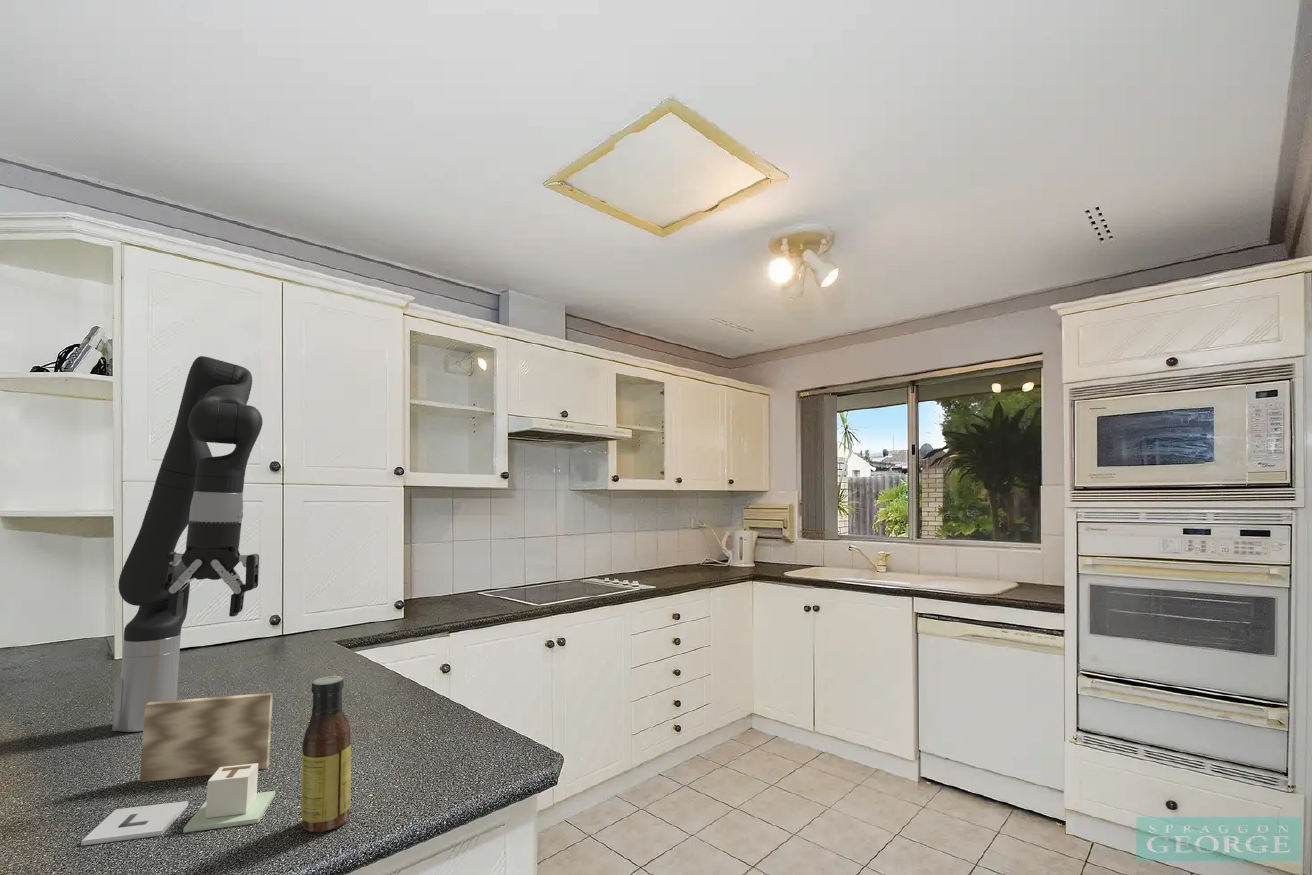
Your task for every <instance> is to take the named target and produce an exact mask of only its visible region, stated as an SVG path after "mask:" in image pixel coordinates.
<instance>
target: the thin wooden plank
mask: <svg viewBox="0 0 1312 875" xmlns="http://www.w3.org/2000/svg"><path fill="white" fill-rule="evenodd" d="M273 696H274V693H273V692H267V693H266V692H264V693H263V692H262V693H253V694H252V693H251V694H239V695H237V694H236V695H227V696H226V695H225V696H214V697H201V698H200V697H199V698H187V699H177V700H172V701H159V702H149V703H147V704H146V705H145V714H144V729H143V731H142V745H141V757H140V758H141V763H140V772H139V773H140V774H139V776H140V777H139V783H146V782H152V781H153V782H154V781H155V782H156V781H163V780H172V779H173V780H174V779H182V778H191V777H193V778H194V777H201V776H202V777H203V776H213V775H214V774H215V772H216V771H217V770H218V769H219V768H220V767H225V766H235V765H245V764H254V763H258V771H259V770H267V769H268V768H269V767H270V754H271V753H270V751H271V738H272V737H271V736H272V734H271V733H272V715H273V714H272V713H273Z"/></svg>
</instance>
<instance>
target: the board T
mask: <svg viewBox="0 0 1312 875" xmlns="http://www.w3.org/2000/svg"><path fill="white" fill-rule="evenodd" d="M275 796H276V790H273V791H263V792H262V791H261V792H257V798H256V799H255V801H254V802H253V804H252V805H251V807H250V808H249V810H248V811H247V813H245V814H237V815H228V816H220V817H212V818H206V802H207V799H206V800H205V801H204V803H203V804H202V805H201V806H200V807H199V809H198V810H197V811H196V813H194V815H193V816H192V817H191V819H189V821H188V822H187V823H186V824H185V825H184V827H183V830H182V831H183V832H182V833H184V834H185V833H191V832H198V831H200V832H201V831H205V830H208V831H209V830H213V829H214V830H215V829H222V828H229V827H237V826H238V827H239V826H247V825H254V824H255V825H256V824H259V823H260V820H261V819H262V817H263V816H264V814H265V812H266V811H267V809H268V808H269V806H270V805H271V803H272V801H273V799H274V798H275Z"/></svg>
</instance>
